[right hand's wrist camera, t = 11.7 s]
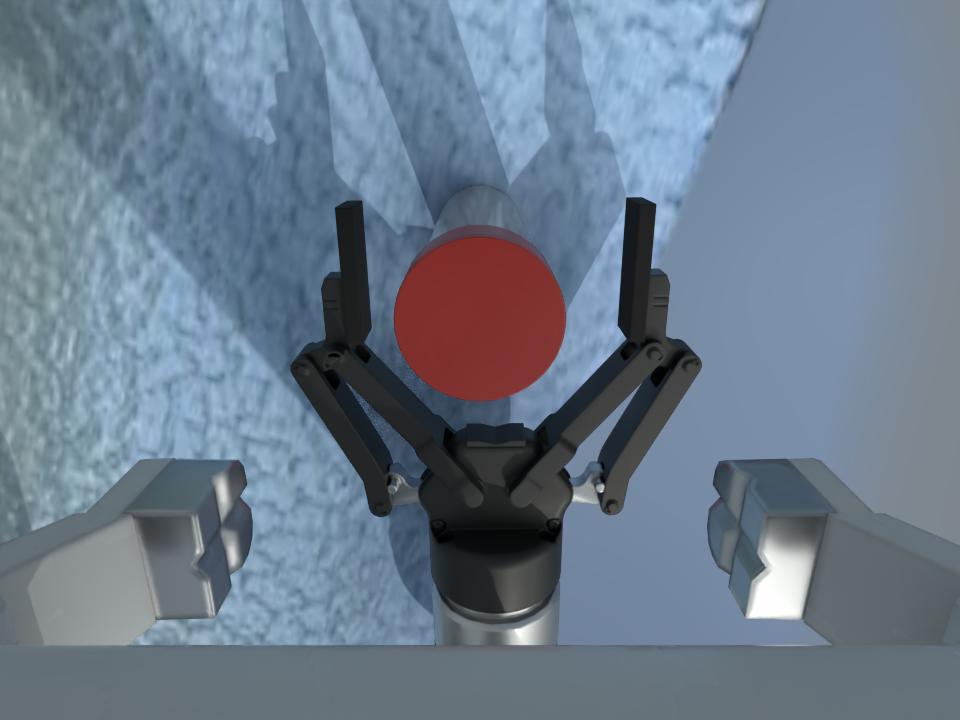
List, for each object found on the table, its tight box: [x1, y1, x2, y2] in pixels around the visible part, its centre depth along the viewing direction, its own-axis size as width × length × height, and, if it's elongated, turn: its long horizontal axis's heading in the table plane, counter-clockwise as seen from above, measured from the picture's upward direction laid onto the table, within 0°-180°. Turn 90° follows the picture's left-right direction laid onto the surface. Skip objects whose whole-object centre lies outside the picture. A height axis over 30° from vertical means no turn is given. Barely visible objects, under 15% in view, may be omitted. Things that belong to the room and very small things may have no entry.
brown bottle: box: [428, 185, 532, 244], centre depth 28 cm, size 5×5×18 cm
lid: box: [394, 225, 566, 401], centre depth 20 cm, size 5×5×2 cm
